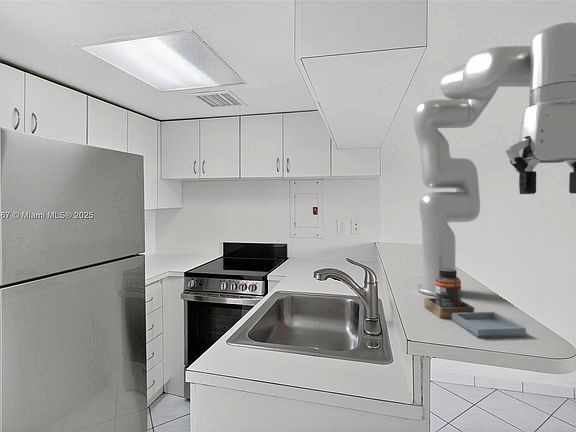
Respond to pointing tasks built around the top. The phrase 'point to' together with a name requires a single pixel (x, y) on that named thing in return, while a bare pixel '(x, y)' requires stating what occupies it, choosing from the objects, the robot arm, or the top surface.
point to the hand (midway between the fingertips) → (553, 193)
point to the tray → (488, 325)
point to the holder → (446, 308)
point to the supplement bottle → (448, 288)
